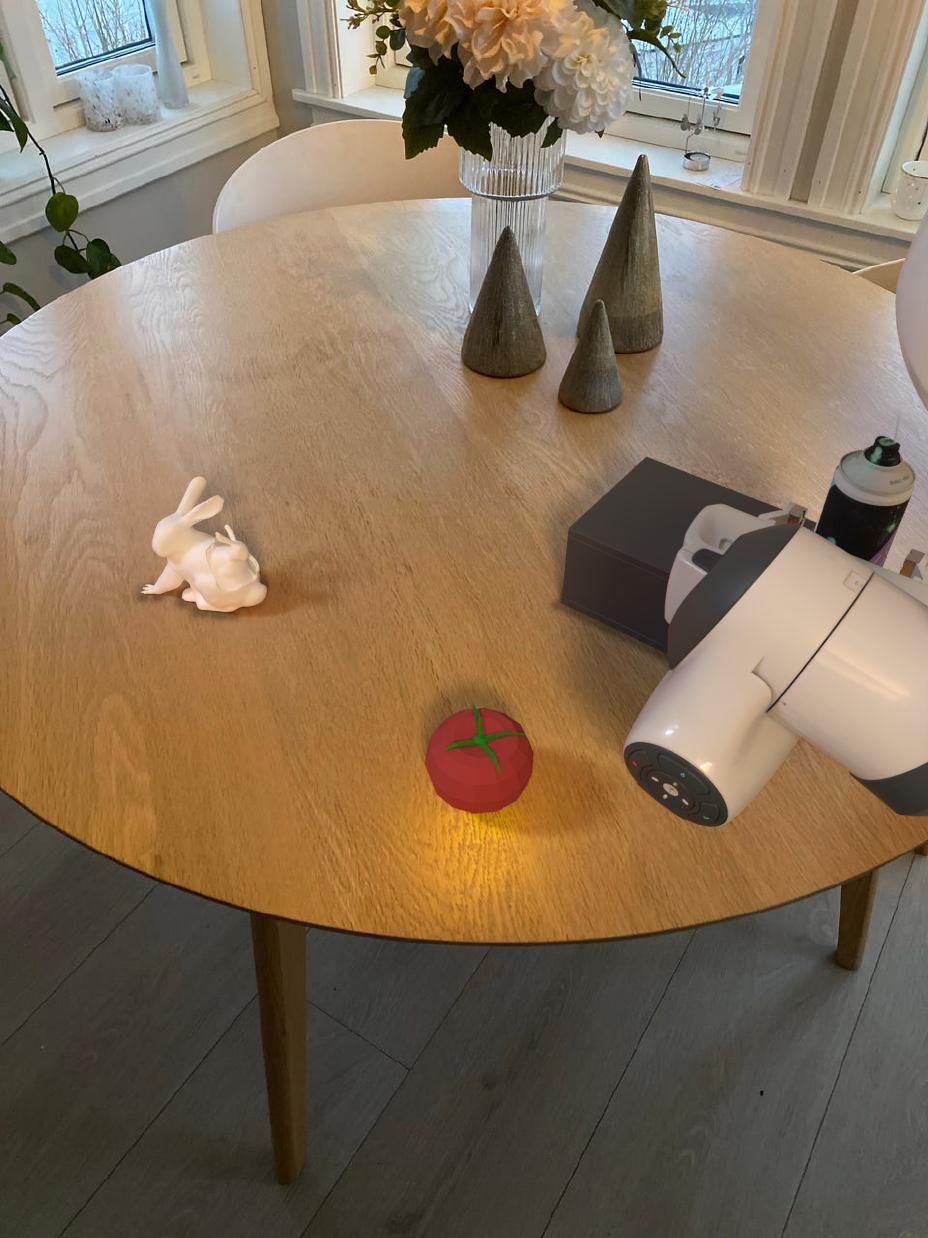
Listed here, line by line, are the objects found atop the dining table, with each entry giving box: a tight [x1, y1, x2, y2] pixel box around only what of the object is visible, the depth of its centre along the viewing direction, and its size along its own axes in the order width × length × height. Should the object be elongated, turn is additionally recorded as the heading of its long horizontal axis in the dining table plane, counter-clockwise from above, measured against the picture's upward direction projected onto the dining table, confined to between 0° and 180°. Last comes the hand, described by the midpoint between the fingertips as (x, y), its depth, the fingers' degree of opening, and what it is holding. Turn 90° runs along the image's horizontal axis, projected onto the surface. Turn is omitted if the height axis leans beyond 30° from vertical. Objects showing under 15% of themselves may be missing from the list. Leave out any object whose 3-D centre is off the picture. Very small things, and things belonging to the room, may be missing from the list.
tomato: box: [424, 702, 535, 815], centre depth 69 cm, size 8×8×8 cm
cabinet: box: [560, 456, 818, 655], centre depth 85 cm, size 17×14×9 cm
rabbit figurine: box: [140, 476, 268, 613], centre depth 85 cm, size 12×8×10 cm, turn 67°
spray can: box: [814, 435, 917, 568], centre depth 74 cm, size 6×6×20 cm
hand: (856, 534), depth 73 cm, fingers open, 8 cm apart
